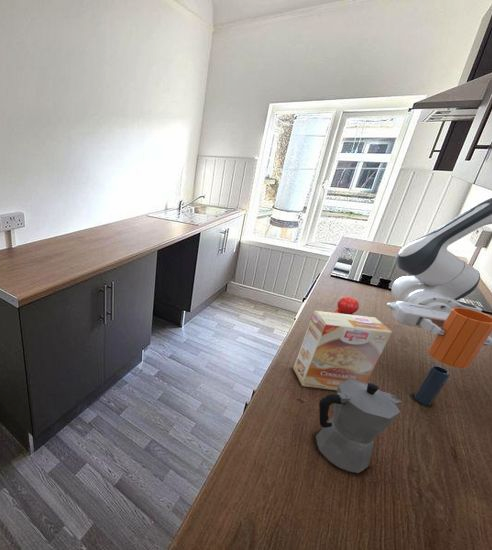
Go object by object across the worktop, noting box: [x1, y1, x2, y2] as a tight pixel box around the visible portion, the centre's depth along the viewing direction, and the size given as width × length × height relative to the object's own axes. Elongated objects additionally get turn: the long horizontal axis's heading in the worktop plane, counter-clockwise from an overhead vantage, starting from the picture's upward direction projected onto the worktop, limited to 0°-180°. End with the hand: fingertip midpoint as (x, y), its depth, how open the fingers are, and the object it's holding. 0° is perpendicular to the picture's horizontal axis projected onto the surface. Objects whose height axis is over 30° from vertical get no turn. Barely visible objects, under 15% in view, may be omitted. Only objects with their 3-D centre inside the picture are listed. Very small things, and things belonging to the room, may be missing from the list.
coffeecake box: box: [292, 310, 393, 391], centre depth 76 cm, size 15×7×20 cm, turn 82°
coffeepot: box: [315, 379, 402, 474], centre depth 58 cm, size 15×9×18 cm, turn 93°
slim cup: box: [413, 364, 451, 406], centre depth 74 cm, size 3×3×10 cm
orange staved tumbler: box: [427, 307, 492, 369], centre depth 68 cm, size 7×7×12 cm
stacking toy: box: [333, 296, 360, 315], centre depth 90 cm, size 8×8×19 cm
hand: (464, 337), depth 67 cm, fingers closed on orange staved tumbler, 7 cm apart
